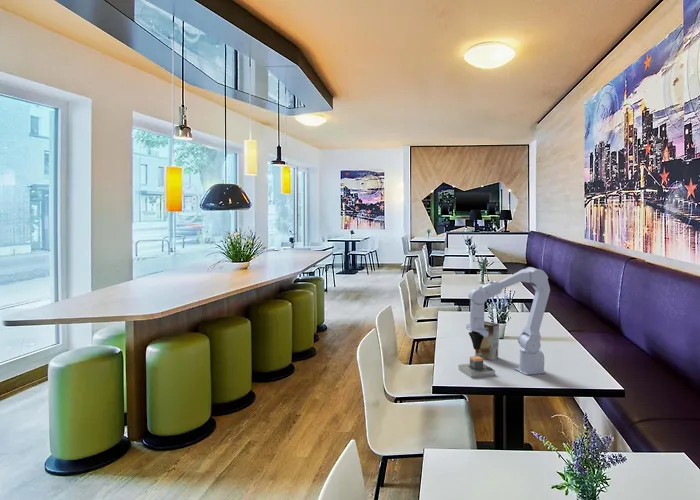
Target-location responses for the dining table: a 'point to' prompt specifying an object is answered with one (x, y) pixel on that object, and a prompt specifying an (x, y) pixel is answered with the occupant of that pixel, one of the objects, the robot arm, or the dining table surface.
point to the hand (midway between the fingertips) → (476, 349)
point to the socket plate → (476, 371)
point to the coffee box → (489, 342)
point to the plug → (476, 363)
